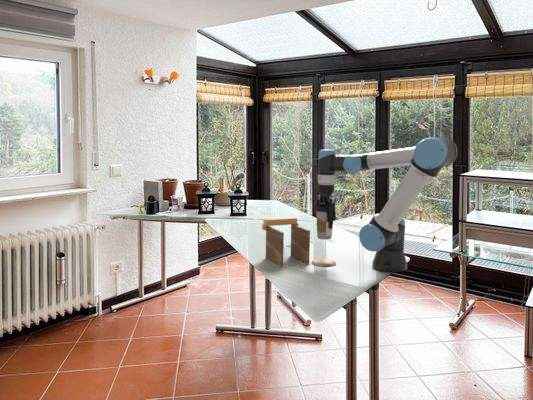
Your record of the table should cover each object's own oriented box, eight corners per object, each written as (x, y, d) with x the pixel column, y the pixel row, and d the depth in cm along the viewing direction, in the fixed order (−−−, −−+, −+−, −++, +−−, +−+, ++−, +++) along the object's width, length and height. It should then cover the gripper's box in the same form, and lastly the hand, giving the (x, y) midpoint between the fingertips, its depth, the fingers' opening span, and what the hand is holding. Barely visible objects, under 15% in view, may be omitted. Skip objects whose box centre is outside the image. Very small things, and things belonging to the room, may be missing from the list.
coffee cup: (311, 237, 231) (312, 205, 229) (323, 235, 236) (324, 204, 234) (325, 240, 225) (326, 207, 223) (337, 238, 230) (338, 206, 228)
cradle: (292, 255, 246) (293, 224, 244) (309, 264, 231) (310, 230, 229) (265, 258, 240) (266, 226, 238) (280, 267, 225) (281, 232, 223)
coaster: (328, 259, 239) (328, 258, 239) (340, 265, 229) (340, 264, 229) (307, 261, 235) (307, 260, 235) (319, 267, 225) (319, 266, 225)
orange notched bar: (295, 226, 246) (295, 217, 245) (298, 228, 243) (298, 218, 242) (262, 229, 239) (262, 219, 238) (264, 230, 236) (264, 220, 235)
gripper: (307, 182, 235) (306, 230, 238) (330, 186, 216) (328, 238, 219) (322, 181, 238) (320, 229, 241) (345, 186, 219) (343, 237, 222)
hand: (324, 233), depth 230 cm, fingers closed on coffee cup, 7 cm apart
